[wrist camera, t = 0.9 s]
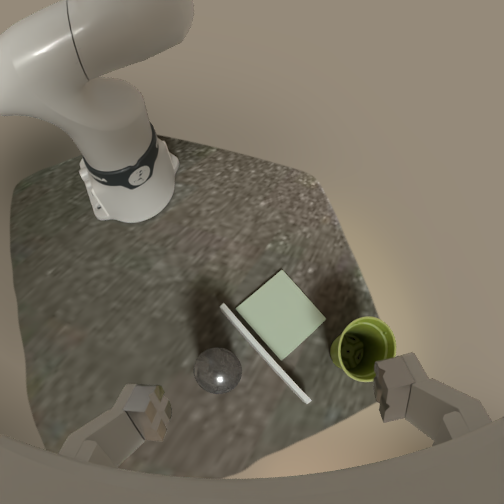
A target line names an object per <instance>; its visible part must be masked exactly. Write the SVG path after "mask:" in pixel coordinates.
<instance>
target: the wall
mask: <svg viewBox="0 0 504 504" xmlns="http://www.w3.org/2000/svg"><path fill="white" fill-rule="evenodd" d="M220 310H221V311H222V312H223V313H224V314H225V316H226V317H227V318H228V319H229V320H230V321H231V323H232V324H233V325H234V326H235V327H236V328H237V330H238V331H239V332H240V333H241V334H242V335H243V336H244V338H245V339H246V340H247V341H248V342H249V343H250V344H251V346H252V347H253V348H254V349H255V350H256V351H257V352H258V353H259V355H260V356H261V357H262V358H263V359H264V360H265V361H266V362H267V363H268V365H269V366H270V367H271V368H272V369H273V370H274V371H275V372H276V373H277V374H278V376H279V377H280V378H281V379H282V380H283V381H284V382H285V383H286V384H287V385H288V386H289V387H290V388H291V390H292V391H293V392H294V393H295V394H296V395H297V396H298V397H299V398H300V399H301V400H302V401H303V402H305V403H307V404H308V403H309V402H311V401H312V400H311V399H310V398H309V397H308V396H307V395H306V394H305V393H304V392H303V391H302V390H301V389H300V388H299V387H298V386H297V385H296V383H295V382H294V381H293V380H292V379H291V378H290V377H289V376H288V375H287V374H286V373H285V372H284V370H283V369H282V368H281V367H280V366H279V365H278V364H277V363H276V362H275V361H274V360H273V358H272V357H271V356H270V355H269V354H268V353H267V352H266V351H265V349H264V348H263V347H262V346H261V345H260V344H259V343H258V342H257V341H256V339H255V338H254V337H253V336H252V335H251V334H250V333H249V331H248V330H247V329H246V328H245V327H244V326H243V325H242V323H241V322H240V321H239V320H238V319H237V318H236V316H235V315H234V314H233V313H232V312H231V311H230V309H229V308H228V307H227V306H226V305H225V304H224V303H223V304H222V305H221V306H220Z"/></svg>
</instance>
